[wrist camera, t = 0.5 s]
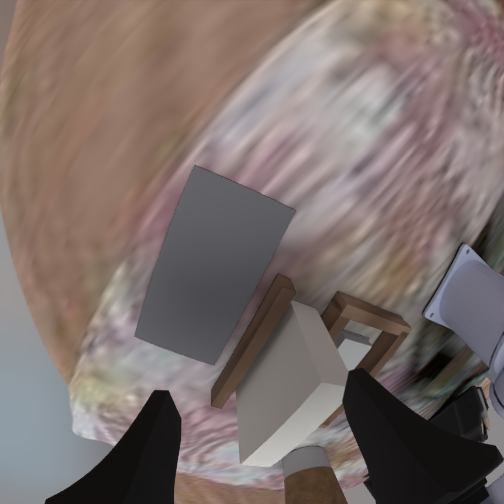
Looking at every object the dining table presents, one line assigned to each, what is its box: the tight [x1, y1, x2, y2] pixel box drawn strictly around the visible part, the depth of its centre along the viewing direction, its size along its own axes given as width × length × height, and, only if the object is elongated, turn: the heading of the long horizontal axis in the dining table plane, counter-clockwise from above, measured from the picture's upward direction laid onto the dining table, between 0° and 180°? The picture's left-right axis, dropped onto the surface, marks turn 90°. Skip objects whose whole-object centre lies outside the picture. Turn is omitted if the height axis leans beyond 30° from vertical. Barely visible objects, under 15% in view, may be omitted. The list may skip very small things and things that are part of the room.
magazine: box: [363, 386, 490, 499], centre depth 28 cm, size 17×3×30 cm
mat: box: [134, 165, 296, 365], centre depth 19 cm, size 7×14×1 cm, turn 155°
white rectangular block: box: [236, 300, 348, 467], centre depth 18 cm, size 2×10×8 cm, turn 155°
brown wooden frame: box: [211, 274, 412, 428], centre depth 21 cm, size 13×14×2 cm
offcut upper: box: [334, 332, 372, 372], centre depth 22 cm, size 3×7×1 cm, turn 155°
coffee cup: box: [283, 446, 348, 504], centre depth 22 cm, size 8×8×15 cm
